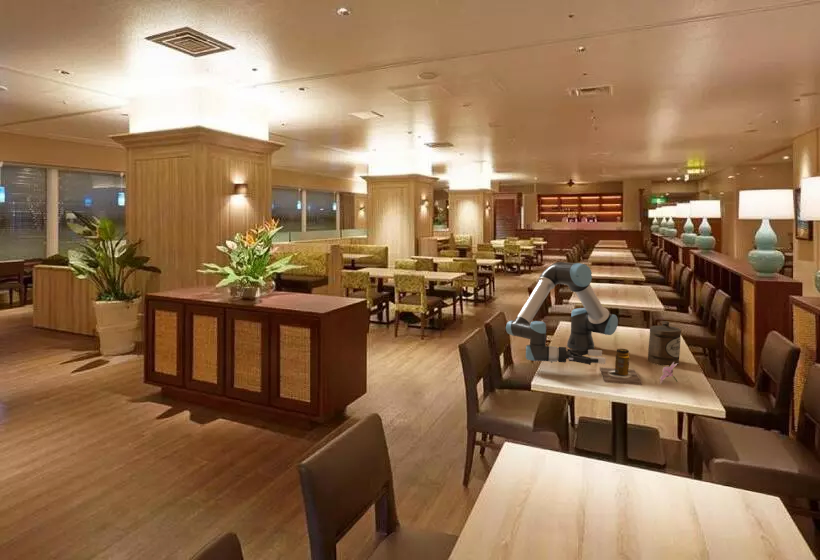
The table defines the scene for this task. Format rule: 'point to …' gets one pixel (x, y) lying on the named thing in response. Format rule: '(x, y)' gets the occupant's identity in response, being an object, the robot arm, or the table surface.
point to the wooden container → (664, 344)
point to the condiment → (621, 363)
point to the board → (615, 379)
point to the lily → (668, 372)
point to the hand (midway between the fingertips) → (603, 357)
